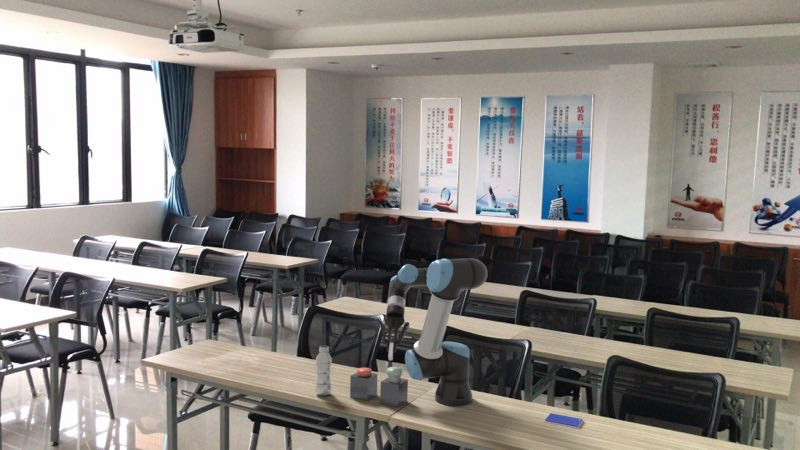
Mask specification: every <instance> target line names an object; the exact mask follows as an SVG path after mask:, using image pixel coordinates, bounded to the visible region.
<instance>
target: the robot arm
mask: <svg viewBox="0 0 800 450" xmlns="http://www.w3.org/2000/svg"><path fill="white" fill-rule="evenodd" d="M487 279H488V269H487V267H486V265H485V263H483V261H482V260H479V259H476V258H473V257H472V258H471V257H470V258H468V257H467V258H465V257H464V258H451V259H450V258H441V259H436V260H434V261H432V262H431V263H430V264H429V265H428V267H423V268H419V267H416V266H415V265H412V264H410V263H407V264H404V265H403V266H402V267H401V268H400V269H399V270H398V272H397V274H396V275H394V276H392V277H391V278H390V282H389V288H388V299H387V305H386V311H385V318H384V319H383V320H382V321H381V320H378V324H379V328H380V330H381V336H382V337H381V338H382V342H383V344H384V345H386V352H387V353H388V354H387V355H388V356H387V357H388V361H393V359H394V353H396V352H397V347H398V345H402V344H403V341H404V338H405V335H406V333H407V331H408V330H409V328H410V322H409V321H405V309H406V300H407V299H406V298H407V293H408V291H409V290H410V289H411V288H412V287H424V286H426V287H427V288H428V290H429V292H430V294H431V296H430V301H429V303H428V304H429V305H428V308H427V311H426V315H425V318H424V321H423V322H424V323H423V327H422V328H421V329H422V330H421V333H420V336H419V337H420V338H419V339H418V340H416V341H415V343H414V344H413V348H412V349H408V350H406V351H405V354H404V355H405V356H404V363H405V367H406V370H407V373H408V375H409V376H410V378H411V379H413V380H425V379H426V380H427V379H434V378H439V381H438V383H437V387H436V390H435V392H434V399H435V401H436V402H437V403H439V404H442V405H446V406H454V407H457V406H459V407H460V406H466V405H469V404H471V403H472V402H473V393H472V390H471V386H470V382H469V377H470V376H469V375H470V374H469V373H470V358H471V356H470V355H471V354H470V348H469V347H468V345H466V344H463V343H460V342H456V341H455V342H454V341H446V340H445V341H443V340H444V337H445V333H446V330H447V326H448V323H449V319H450V316H451V312H452V308H453V306H454V305H453V304H454V303H455V301H457V300H459V298H460V296H461V292H462V291H467V290H474V289H478V288H480V287H481V286H483V285H484V284H485V283H486V281H487ZM385 326H386V327H387V328H388V332H387V333H388V334H387V337H386V331H385ZM402 326H403V327H402ZM401 327H402V330H401V332H400V335H399V330H400V328H401ZM393 330H394V332H393ZM393 333H394V335H393ZM392 336H393V342H392Z"/></svg>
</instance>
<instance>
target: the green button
mask: <svg viewBox="0 0 800 450" xmlns="http://www.w3.org/2000/svg"><path fill="white" fill-rule="evenodd" d="M386 375H388V377H387V378H388V382H393V383H398V382H400V380H401V376H403V368H401V367H399V366H398V367H397V366H390V367H387V369H386Z"/></svg>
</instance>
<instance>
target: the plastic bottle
mask: <svg viewBox="0 0 800 450" xmlns="http://www.w3.org/2000/svg"><path fill="white" fill-rule="evenodd" d="M329 349H330V348H329V346H328V345H320V346H319V350H318V354H317V356H316V357H315V366H316V381H315V382H316V383H315V393H316V394H317V395H318V396H329V395H330V394H331V393H332V391H333V389H332V383H331V369H332V368H331V367H332V362H333V361H332V360H333V359H332V356H331V355H330V353H329V351H330V350H329Z"/></svg>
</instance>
